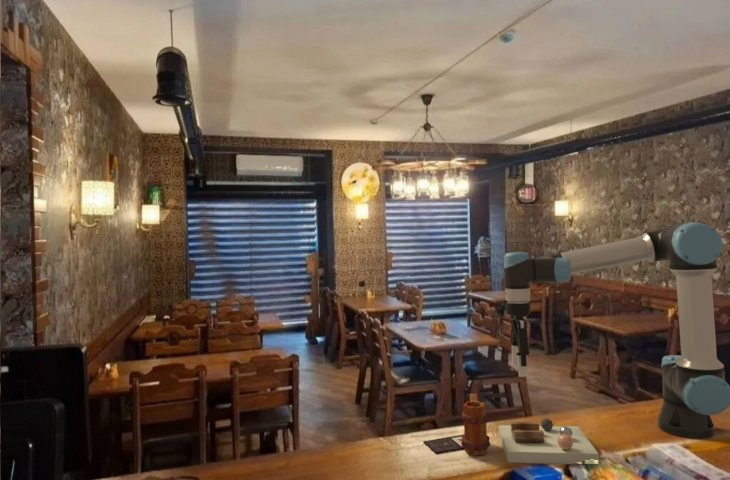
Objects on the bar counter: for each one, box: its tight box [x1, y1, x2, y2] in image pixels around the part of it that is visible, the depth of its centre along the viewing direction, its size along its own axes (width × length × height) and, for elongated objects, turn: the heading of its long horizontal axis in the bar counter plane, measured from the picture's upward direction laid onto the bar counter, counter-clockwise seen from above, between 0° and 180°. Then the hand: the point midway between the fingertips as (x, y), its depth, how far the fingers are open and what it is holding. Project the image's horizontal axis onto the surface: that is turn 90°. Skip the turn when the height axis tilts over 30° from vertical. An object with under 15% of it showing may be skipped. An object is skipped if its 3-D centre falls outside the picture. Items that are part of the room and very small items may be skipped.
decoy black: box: [540, 417, 554, 431], centre depth 156 cm, size 4×4×4 cm
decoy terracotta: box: [558, 434, 573, 450], centre depth 142 cm, size 4×4×4 cm
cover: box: [510, 421, 544, 443], centre depth 150 cm, size 8×8×3 cm
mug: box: [461, 393, 491, 456], centre depth 151 cm, size 15×8×15 cm, turn 168°
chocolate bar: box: [422, 434, 491, 455], centre depth 155 cm, size 9×1×18 cm
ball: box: [560, 425, 572, 437], centre depth 149 cm, size 4×4×4 cm
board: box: [498, 424, 600, 465], centre depth 150 cm, size 24×20×3 cm
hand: (520, 371), depth 159 cm, fingers open, 12 cm apart
